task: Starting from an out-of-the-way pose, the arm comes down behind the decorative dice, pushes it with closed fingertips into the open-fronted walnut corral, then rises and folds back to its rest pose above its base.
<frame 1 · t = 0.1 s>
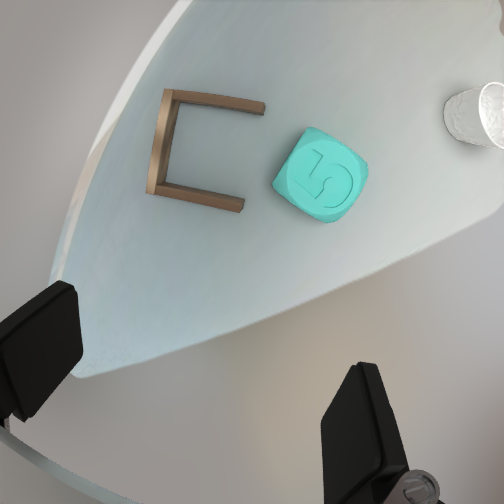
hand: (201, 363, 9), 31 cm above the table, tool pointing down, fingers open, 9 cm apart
white cup: (461, 118, 31), on the table
decorative dice: (316, 172, 37), on the table
corral: (211, 148, 37), on the table
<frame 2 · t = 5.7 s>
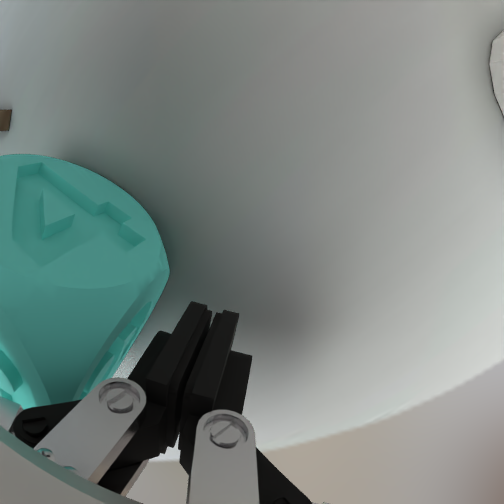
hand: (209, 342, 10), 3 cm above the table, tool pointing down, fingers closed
decorative dice: (94, 255, 14), on the table, touching gripper
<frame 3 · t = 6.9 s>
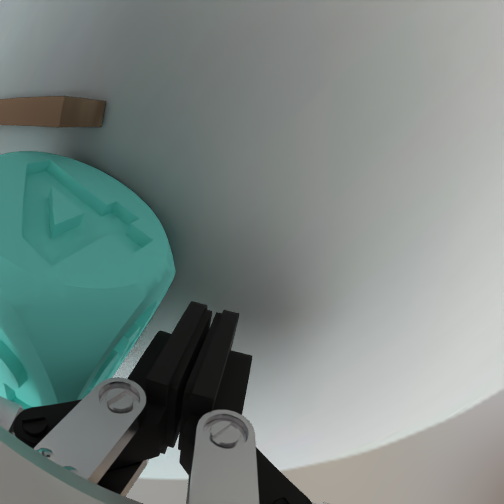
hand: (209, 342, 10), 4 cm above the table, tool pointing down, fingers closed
decorative dice: (99, 253, 14), on the table, touching gripper
corral: (21, 217, 14), on the table
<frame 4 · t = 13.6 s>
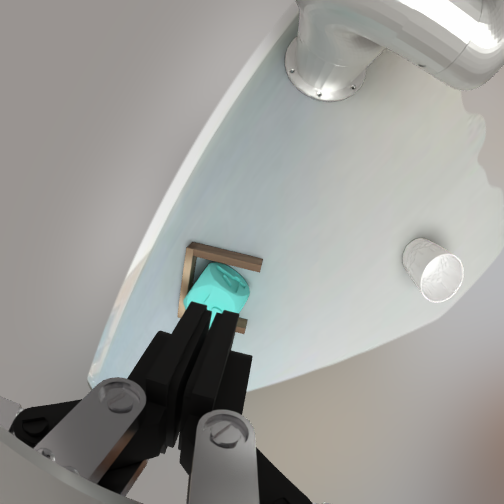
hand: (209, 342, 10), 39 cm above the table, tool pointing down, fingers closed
white cup: (418, 255, 48), on the table
decorative dice: (221, 285, 53), on the table
corral: (223, 286, 53), on the table
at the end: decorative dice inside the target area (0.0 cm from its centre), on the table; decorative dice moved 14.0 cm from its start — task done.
